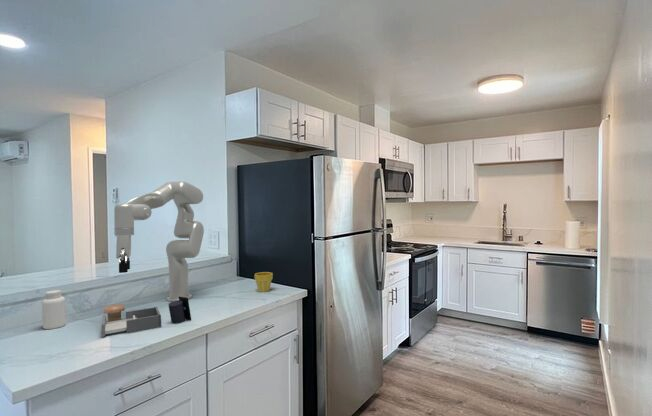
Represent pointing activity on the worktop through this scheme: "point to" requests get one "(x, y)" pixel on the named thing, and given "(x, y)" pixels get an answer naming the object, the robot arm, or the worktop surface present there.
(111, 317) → the brown wooden cube
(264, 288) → the plant pot
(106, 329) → the tray
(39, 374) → the worktop surface
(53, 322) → the pill bottle
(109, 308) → the tan domed disc
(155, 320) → the housing
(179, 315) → the speaker
